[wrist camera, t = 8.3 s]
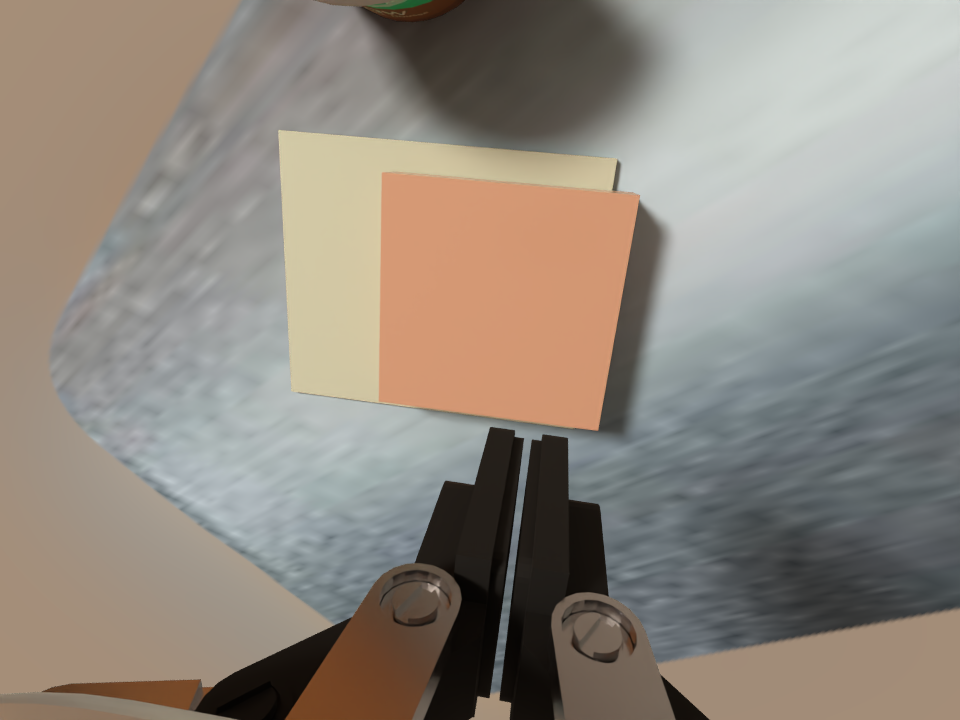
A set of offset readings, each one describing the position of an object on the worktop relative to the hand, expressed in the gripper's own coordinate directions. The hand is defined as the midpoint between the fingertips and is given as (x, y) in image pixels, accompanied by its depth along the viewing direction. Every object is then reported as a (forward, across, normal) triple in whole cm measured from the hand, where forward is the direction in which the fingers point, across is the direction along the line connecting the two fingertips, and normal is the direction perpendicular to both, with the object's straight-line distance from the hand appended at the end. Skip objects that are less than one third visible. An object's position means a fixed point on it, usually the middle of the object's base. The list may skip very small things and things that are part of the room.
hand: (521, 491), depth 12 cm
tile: (+17, -4, +1) cm, 18 cm away
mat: (+19, +6, +1) cm, 20 cm away
